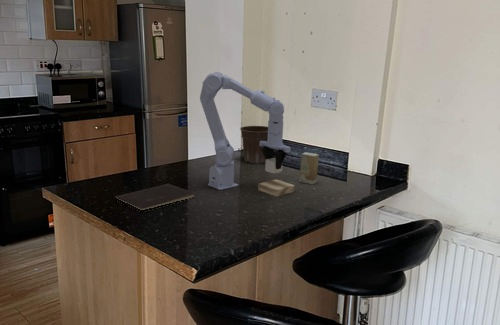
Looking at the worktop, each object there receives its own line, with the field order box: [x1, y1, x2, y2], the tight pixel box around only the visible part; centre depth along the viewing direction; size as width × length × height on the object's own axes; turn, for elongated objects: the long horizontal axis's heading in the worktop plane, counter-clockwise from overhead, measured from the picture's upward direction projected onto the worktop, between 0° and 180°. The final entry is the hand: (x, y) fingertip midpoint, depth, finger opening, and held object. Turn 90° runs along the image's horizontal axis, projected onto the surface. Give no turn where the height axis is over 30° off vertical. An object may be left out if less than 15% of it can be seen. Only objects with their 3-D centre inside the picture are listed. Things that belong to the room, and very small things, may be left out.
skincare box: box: [298, 152, 320, 185], centre depth 184 cm, size 6×4×12 cm
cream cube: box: [264, 157, 283, 174], centre depth 174 cm, size 5×5×5 cm
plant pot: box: [239, 125, 268, 165], centre depth 216 cm, size 16×16×16 cm
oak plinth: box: [257, 178, 296, 197], centre depth 173 cm, size 10×10×3 cm
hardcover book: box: [114, 183, 196, 210], centre depth 159 cm, size 16×23×2 cm
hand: (273, 167), depth 174 cm, fingers closed on cream cube, 5 cm apart
